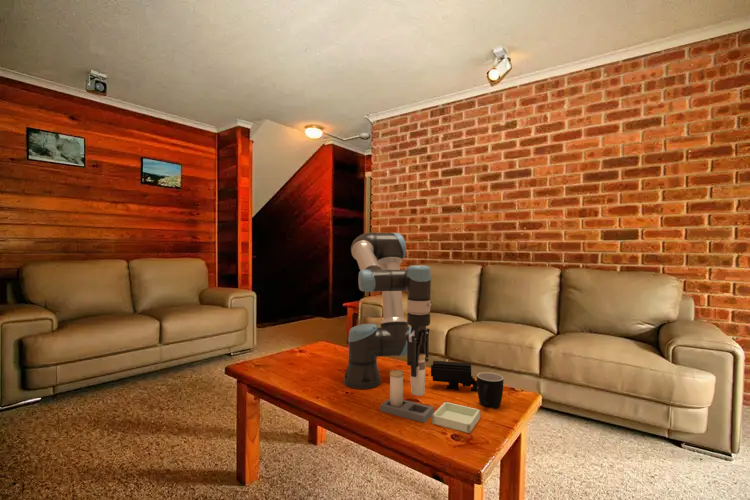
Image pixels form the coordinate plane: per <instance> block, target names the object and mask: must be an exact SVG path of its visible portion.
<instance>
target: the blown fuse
mask: <svg viewBox="0 0 750 500" xmlns="http://www.w3.org/2000/svg"><path fill="white" fill-rule="evenodd" d="M425 362H426V361H425V354H423V353H419V360H418V366H419V387H415V386H411V385H410V386H411V387H410V389H411V390H410V393H411V394H412V395H414V396H417V397H418V396H419V397H420V396H424V395H425V392H426V389H425V387H426V369H425Z"/></svg>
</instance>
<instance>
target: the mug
mask: <svg viewBox="0 0 750 500" xmlns="http://www.w3.org/2000/svg"><path fill="white" fill-rule="evenodd" d="M476 380H477V396H478V397H477V398H478V401H479V404H480V405H481V406H482V407H486V408H490V409H494V410H495V409H498V408H500V406H501V403H502V400H503V392H504V377H503V376H502V375H501V374H498V373H494V372H490V371H489V372H488V371H487V372H485V371H484V372H479V373H477V375H476Z"/></svg>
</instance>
